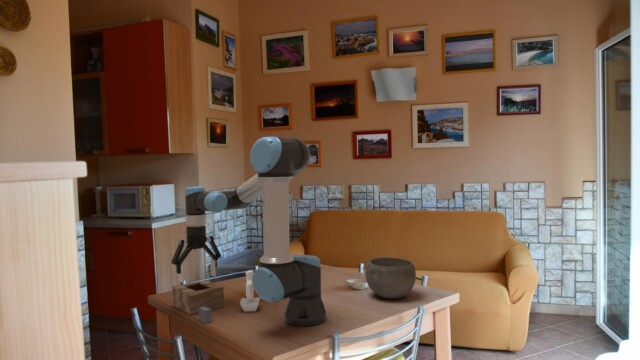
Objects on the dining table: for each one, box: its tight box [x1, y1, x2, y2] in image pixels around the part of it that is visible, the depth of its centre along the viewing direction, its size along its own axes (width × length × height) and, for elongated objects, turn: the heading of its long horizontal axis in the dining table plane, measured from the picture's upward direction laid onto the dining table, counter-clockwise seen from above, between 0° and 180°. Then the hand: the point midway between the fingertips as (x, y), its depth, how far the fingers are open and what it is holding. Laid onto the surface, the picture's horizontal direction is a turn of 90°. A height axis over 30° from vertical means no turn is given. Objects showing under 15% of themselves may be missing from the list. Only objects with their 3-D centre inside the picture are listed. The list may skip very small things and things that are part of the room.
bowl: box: [364, 256, 417, 300], centre depth 190 cm, size 21×21×15 cm
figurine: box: [239, 269, 261, 313], centre depth 176 cm, size 7×9×15 cm
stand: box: [198, 307, 212, 324], centre depth 164 cm, size 5×2×4 cm, turn 41°
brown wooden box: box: [172, 279, 225, 316], centre depth 181 cm, size 16×14×8 cm
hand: (197, 278), depth 181 cm, fingers open, 13 cm apart
